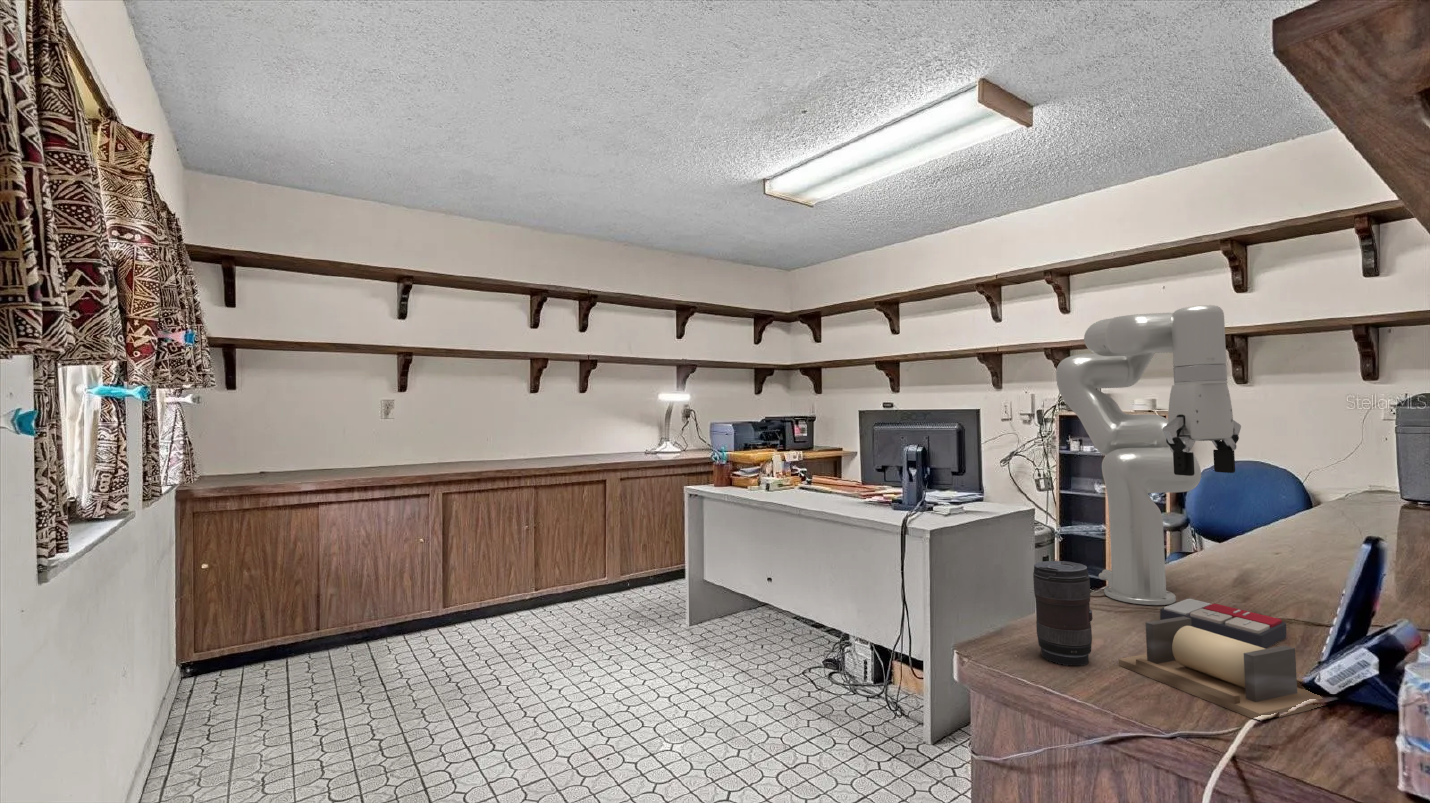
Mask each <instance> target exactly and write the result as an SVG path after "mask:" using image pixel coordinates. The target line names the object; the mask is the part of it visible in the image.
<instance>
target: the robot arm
mask: <svg viewBox="0 0 1430 803" xmlns="http://www.w3.org/2000/svg"><path fill="white" fill-rule="evenodd" d="M1083 342H1084V344H1085V347H1086V348H1087V349H1088V350H1089V352H1091V353H1081V354H1075V355H1071V356H1068V357H1065V358H1064V359H1062V360H1061V361H1060V362H1059V363H1058V365H1057V367H1056V371H1055V379H1056V386H1057V389H1058V392H1059V394H1060V396H1061V397H1062V400H1063V401H1064V402H1065V403H1066V405H1067V406H1068V408H1070V410H1071V411H1072V412H1073V413H1075V415H1076V417H1078V419H1079V421H1080V422H1081V424H1082V426H1083V428H1084V430H1085V431H1086V433H1087V435H1088V436H1089V438H1090V440H1091V442H1092V444H1093V446H1094V447H1095V449H1097V451H1098V452H1099V453H1100V454H1102V455H1103V456H1104V457H1103V459H1102V462H1101V472H1102V477H1103V481H1104V486H1105V489H1106V495H1107V502H1108V515H1109V516H1108V517H1109V518H1108V519H1109V534H1110V535H1109V538H1110V540H1109V542H1110V557H1111V558H1110V559H1111V561H1110V562H1111V569H1110V570H1109V569H1103V570H1102V571H1101V572H1099V574H1098V578H1099V579H1100V580H1103V581H1107V585H1108V586H1105V587H1104V595H1105V596H1107V597H1108V598H1111V599H1113V600H1116V601H1119V602H1123V603H1129V604H1135V605H1144V606H1148V605H1149V606H1165V605H1167V606H1168V605H1172V604H1175V603H1176V601H1177V597H1176V595H1175V593H1173V592H1171V591H1170V590H1169V591H1168V590H1167V579H1166V577H1167V576H1166V561H1165V560H1166V559H1165V538H1164V521H1163V520H1164V518H1163V515H1162V512H1161V510H1160V508H1159V506H1158V505H1157V504H1156V503H1155V502H1154V500H1153V499H1152V498H1151V496H1150V495H1149V494H1155V493H1156V494H1157V493H1164V494H1165V493H1186V492H1189V491H1190V492H1191V491H1192V490H1194V489H1195V488H1196V487H1198V485H1199V484H1200V482H1201V480H1202V479H1201V478H1202V470H1201V466H1200V463H1199V461H1198V459H1197V457H1196V455H1195V454H1194V452H1193V451H1192V448H1193V446H1194V445H1195V443H1196V442H1204V441H1205V442H1206V441H1207V442H1208V441H1211V442H1212V444H1213V445H1214V447H1215V449H1213V450H1212V451H1213V469H1214V472H1215V473H1225V474H1226V473H1228V474H1234V473H1236V461H1235V460H1236V458H1235V451H1236V450H1237V449H1238V448H1237V447H1238V446H1237V443H1238V441H1239V439H1240V437H1239V436H1240V431H1241V428H1242V425H1241V424H1240V423H1239V422H1237V421H1235V420H1234V416H1233V415H1234V414H1233V406H1232V400H1231V395H1230V390H1229V386H1228V382H1229V381H1228V368H1227V367H1228V364H1227V347H1226V329H1225V312H1224V310H1223V309H1222V307H1220V306H1218V305H1212V304H1209V305H1207V304H1201V305H1192V306H1186V307H1181V308H1177V309H1176V310H1175V311H1173V312H1156V313H1154V312H1151V313H1137V314H1135V313H1134V314H1126V315H1121V316H1120V315H1119V316H1115V317H1111V318H1105V319H1101V320H1098V321H1096V322H1094V323H1092V324H1091V325H1089V327H1087V329H1086V330H1085V333H1084V336H1083ZM1160 353H1161V354H1162V353H1163V354H1165V353H1167V354H1168V353H1171V354H1172V365H1173V385H1171V389H1170V394H1169V400H1168V413H1167V414H1168V418H1166V417H1164V416H1162V415H1158V414H1149V413H1147V414H1146V413H1144V414H1141V413H1139V414H1129V413H1126V412H1124V411H1123V410H1122V409H1121V408H1120V406H1119V404H1118V403H1117V402H1116V400H1115V399H1113V398H1112V397H1111V396H1109V395H1108V394H1106V393H1104V392H1102V391H1101V390H1100V389H1121V388H1122V389H1123V388H1129V387H1132V386H1134V385H1135V384H1137V383H1138V382H1139V381H1140V379H1141V378H1142V376H1143V374H1144V373H1145V371H1146V369H1147V368H1148V366H1149V364H1150V363H1151V361H1152V360H1153V358H1154V356H1155V354H1160ZM1109 587H1111V588H1109Z"/></svg>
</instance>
